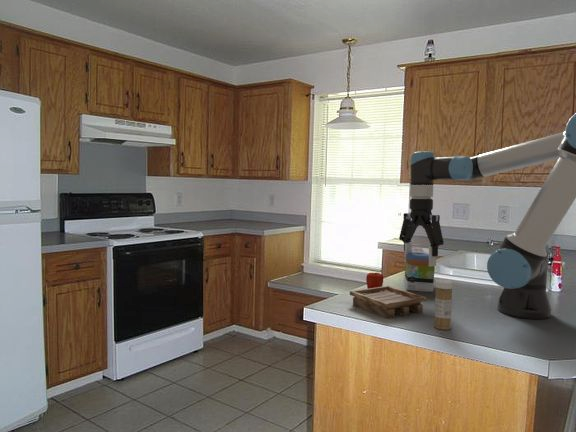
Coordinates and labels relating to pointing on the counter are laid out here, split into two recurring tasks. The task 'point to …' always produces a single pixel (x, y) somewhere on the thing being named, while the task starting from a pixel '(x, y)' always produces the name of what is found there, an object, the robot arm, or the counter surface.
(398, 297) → the wooden pallet tray
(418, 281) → the tea box
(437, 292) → the sprinkles bottle
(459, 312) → the counter surface
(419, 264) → the doughnut
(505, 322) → the counter surface
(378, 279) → the red bell pepper
